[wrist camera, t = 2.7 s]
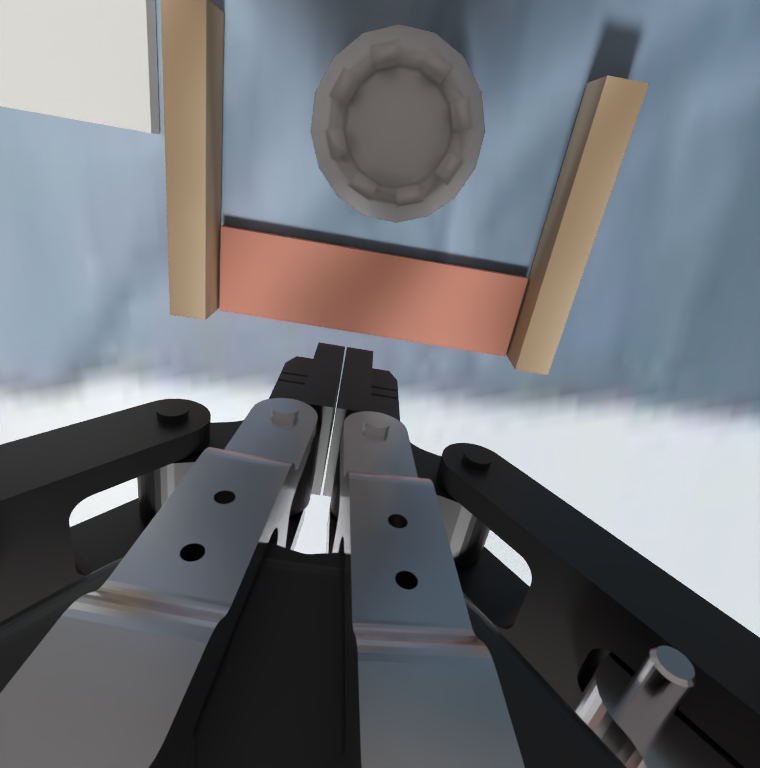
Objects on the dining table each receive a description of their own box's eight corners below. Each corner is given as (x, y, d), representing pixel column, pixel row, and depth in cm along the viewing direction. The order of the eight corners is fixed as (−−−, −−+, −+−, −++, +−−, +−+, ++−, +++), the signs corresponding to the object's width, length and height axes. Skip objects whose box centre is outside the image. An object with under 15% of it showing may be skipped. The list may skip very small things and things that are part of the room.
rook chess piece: (321, 58, 14) (252, -40, 7) (470, 58, 14) (551, -42, 7) (328, 214, 16) (279, 261, 9) (459, 215, 16) (514, 262, 9)
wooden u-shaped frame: (625, 90, 15) (649, 83, 13) (536, 358, 18) (547, 374, 17) (182, 4, 14) (160, -12, 13) (187, 302, 18) (170, 314, 16)
